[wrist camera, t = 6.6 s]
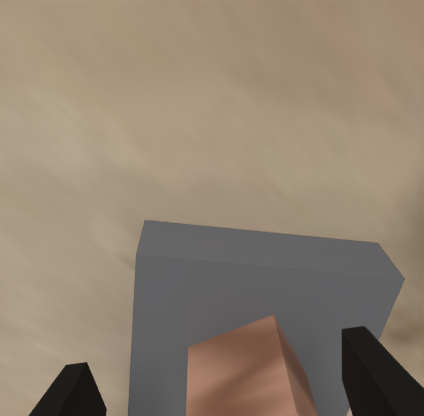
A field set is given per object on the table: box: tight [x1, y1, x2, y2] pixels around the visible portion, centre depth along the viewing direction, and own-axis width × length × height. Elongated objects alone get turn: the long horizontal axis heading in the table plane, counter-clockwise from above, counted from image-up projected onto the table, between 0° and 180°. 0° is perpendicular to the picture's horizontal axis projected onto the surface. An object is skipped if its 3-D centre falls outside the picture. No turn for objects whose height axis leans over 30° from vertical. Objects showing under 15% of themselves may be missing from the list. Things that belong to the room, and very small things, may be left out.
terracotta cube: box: [186, 315, 318, 416], centre depth 18 cm, size 4×4×5 cm
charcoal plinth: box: [128, 220, 404, 416], centre depth 21 cm, size 12×12×3 cm
